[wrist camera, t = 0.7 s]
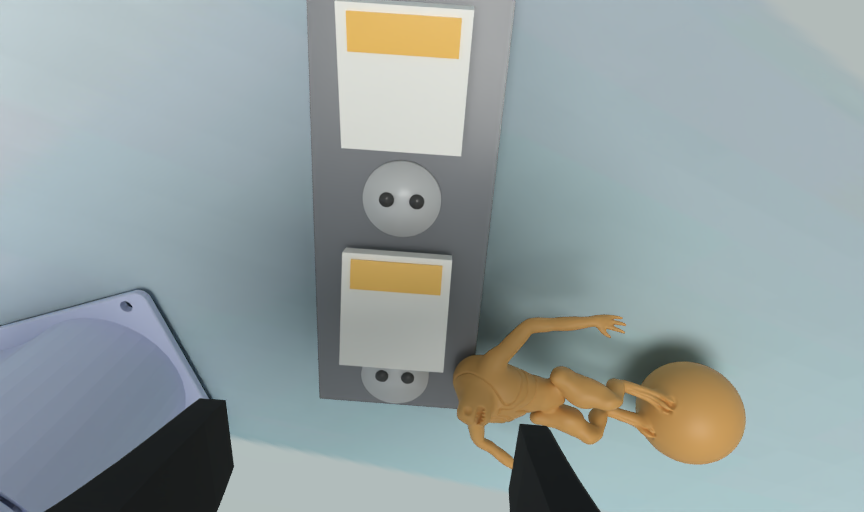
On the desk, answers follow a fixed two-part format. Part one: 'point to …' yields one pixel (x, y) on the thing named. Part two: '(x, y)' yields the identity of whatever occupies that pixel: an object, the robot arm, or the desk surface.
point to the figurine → (600, 398)
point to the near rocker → (403, 75)
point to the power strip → (405, 206)
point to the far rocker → (394, 309)
